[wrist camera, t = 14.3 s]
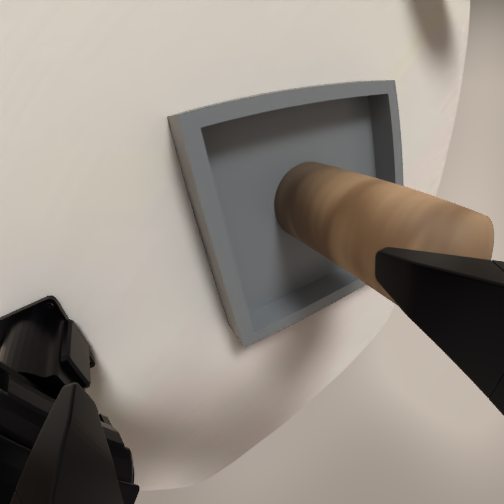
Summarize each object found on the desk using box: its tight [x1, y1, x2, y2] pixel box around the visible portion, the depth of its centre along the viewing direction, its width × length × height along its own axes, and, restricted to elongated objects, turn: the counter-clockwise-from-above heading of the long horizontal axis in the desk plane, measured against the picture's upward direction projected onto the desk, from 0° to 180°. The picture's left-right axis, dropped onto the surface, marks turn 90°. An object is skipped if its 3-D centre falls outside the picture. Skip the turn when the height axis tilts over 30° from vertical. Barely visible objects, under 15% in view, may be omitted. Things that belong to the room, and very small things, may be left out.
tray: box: [168, 80, 403, 348], centre depth 22 cm, size 16×16×3 cm
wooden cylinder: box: [274, 162, 494, 305], centre depth 17 cm, size 6×6×13 cm
